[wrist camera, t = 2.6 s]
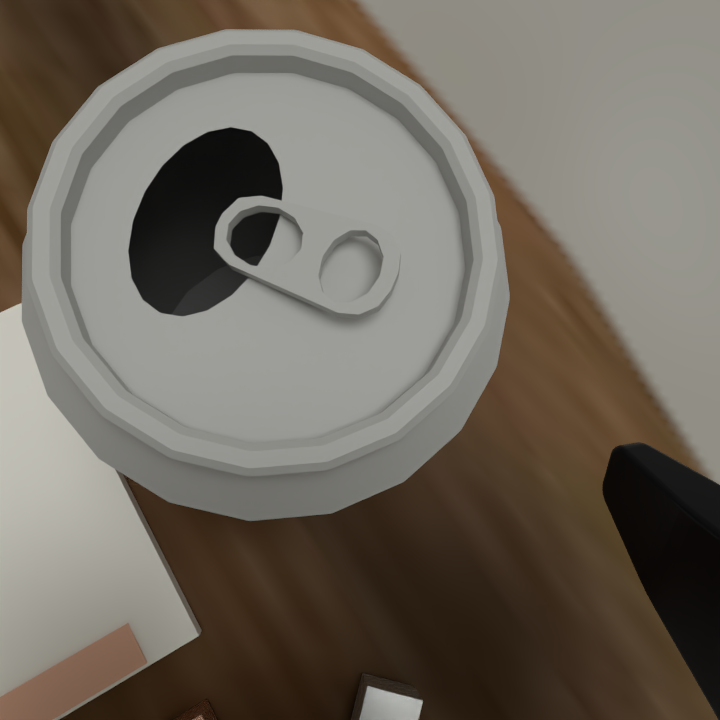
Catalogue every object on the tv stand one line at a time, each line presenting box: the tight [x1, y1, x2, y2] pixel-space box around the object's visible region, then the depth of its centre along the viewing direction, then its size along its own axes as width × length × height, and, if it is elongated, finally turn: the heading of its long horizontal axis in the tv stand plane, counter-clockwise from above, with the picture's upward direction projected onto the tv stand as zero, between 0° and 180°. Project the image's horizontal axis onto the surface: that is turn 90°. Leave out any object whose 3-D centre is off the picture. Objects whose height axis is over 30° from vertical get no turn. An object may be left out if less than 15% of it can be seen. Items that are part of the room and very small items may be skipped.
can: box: [22, 29, 510, 521], centre depth 14 cm, size 8×8×12 cm
